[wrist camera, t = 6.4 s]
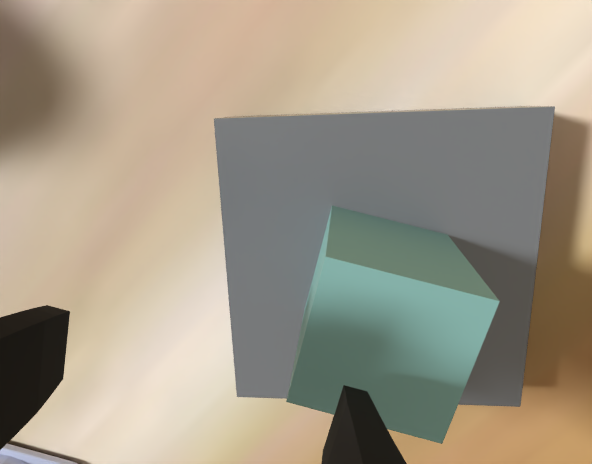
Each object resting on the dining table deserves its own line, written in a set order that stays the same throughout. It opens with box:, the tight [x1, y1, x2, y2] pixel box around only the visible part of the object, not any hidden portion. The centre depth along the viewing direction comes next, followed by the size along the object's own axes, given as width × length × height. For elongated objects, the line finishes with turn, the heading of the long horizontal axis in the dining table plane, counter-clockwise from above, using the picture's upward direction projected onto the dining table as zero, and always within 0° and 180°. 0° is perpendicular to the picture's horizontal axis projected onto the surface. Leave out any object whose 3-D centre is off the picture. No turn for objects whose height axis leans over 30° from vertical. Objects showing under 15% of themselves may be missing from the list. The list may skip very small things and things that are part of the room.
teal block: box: [286, 206, 500, 444], centre depth 15 cm, size 4×4×6 cm
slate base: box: [214, 106, 555, 407], centre depth 19 cm, size 12×12×2 cm
